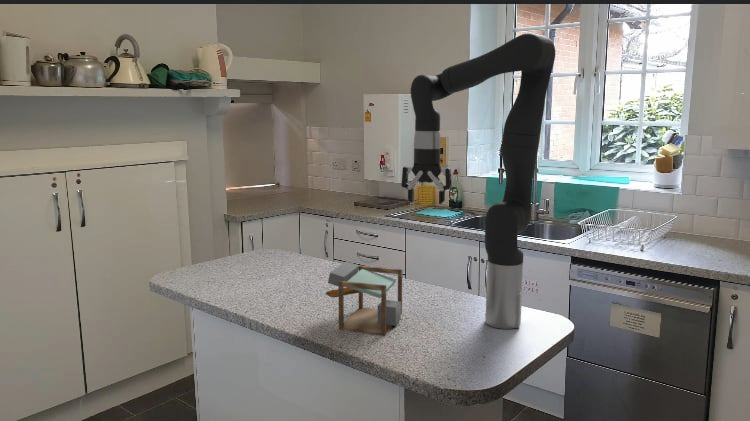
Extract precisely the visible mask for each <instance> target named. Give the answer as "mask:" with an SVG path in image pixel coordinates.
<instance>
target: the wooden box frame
mask: <svg viewBox="0 0 750 421" xmlns="http://www.w3.org/2000/svg"><path fill="white" fill-rule="evenodd" d="M362 269H365V270H368V271H371V272H374V273H379V274H381V273H383V274H393V275H397V301H399V302H401V315H403V269H402V268H391V267H382V266H381V267H379V266H372V265H371V266H369V265H368V266H367V265H359V269H358V272H359V271H360V270H362ZM337 287H338V289H339V297H338V330H339V331H347V332H356V333H361V334H370V335H377V336H386V335H387V334H388V332H389V331H390V330H391V328H392V327H393V326H394V325H386V300H387V292H386V285H377V284H367V283H357V282H347V281H339V282H338V286H337ZM347 287H350V288H360V289H369V290H379V291H381V298H380V299H381V300H380V303H381V324H378V308H372V307H371V308H370V307H364V293H363V292H360V291H359V292H358V308H357V309H356V310H355V311H354V312H353V313H352V314H351V315H350V316H349V317H348V318H347V319H345V317H344V315H345V314H344V311H345V310H344V309H345V307H344V296H345V295H344V288H347ZM344 319H345V320H344Z"/></svg>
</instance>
